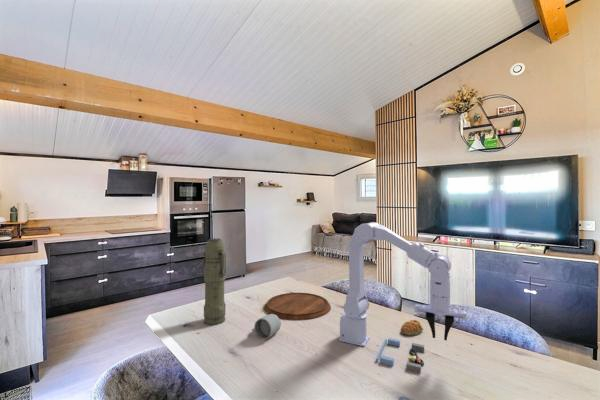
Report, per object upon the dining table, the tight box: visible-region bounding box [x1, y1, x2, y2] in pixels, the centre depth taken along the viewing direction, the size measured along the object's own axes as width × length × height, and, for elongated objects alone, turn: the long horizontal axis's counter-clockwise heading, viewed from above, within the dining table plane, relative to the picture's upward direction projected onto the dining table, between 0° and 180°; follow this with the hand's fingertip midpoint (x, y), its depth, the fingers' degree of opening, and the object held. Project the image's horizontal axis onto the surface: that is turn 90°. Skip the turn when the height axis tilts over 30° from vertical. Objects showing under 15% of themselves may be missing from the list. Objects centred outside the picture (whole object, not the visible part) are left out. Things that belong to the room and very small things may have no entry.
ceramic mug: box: [251, 314, 282, 341], centre depth 114 cm, size 11×8×8 cm
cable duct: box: [375, 337, 425, 374], centre depth 98 cm, size 13×15×2 cm
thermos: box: [203, 238, 227, 326], centre depth 126 cm, size 9×12×35 cm
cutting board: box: [264, 292, 332, 321], centre depth 143 cm, size 32×32×3 cm
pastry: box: [400, 319, 424, 336], centre depth 116 cm, size 9×7×4 cm
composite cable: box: [407, 348, 425, 367], centre depth 96 cm, size 10×5×2 cm, turn 158°
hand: (439, 337), depth 93 cm, fingers open, 3 cm apart
